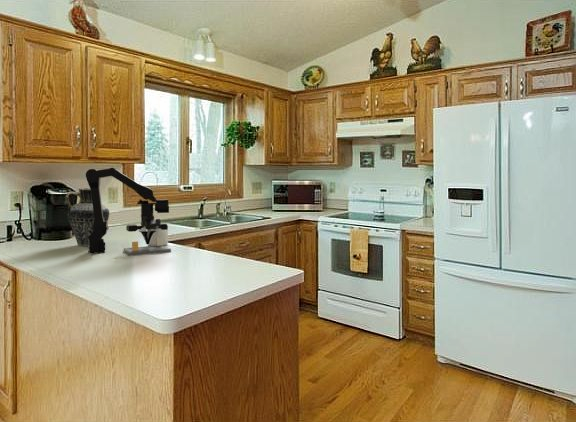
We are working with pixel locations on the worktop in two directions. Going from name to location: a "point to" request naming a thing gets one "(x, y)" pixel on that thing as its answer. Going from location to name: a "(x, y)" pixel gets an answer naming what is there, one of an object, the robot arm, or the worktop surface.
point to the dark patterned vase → (83, 215)
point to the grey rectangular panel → (147, 250)
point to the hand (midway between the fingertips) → (147, 244)
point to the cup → (159, 233)
